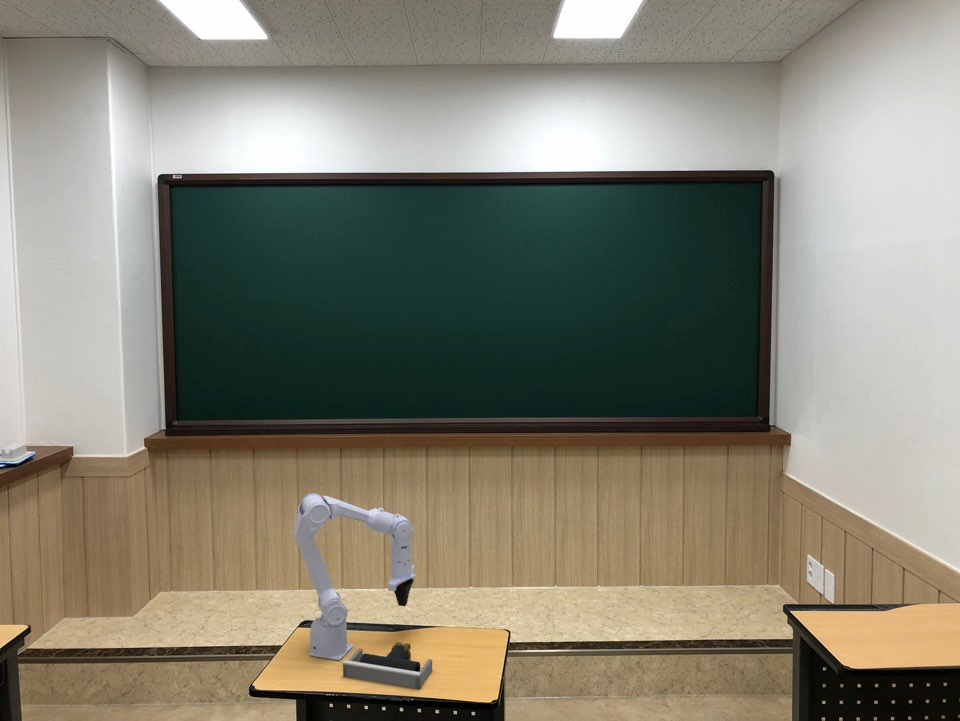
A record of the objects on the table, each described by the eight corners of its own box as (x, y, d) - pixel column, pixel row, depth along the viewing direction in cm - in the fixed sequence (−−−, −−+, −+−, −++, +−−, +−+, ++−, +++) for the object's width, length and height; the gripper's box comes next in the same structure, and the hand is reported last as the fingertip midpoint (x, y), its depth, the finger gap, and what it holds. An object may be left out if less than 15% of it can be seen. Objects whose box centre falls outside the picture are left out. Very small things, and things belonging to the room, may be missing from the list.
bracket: (343, 676, 171) (342, 662, 171) (359, 658, 180) (359, 644, 180) (419, 689, 165) (418, 674, 165) (432, 670, 174) (432, 656, 174)
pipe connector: (378, 636, 182) (429, 644, 177) (378, 655, 182) (429, 663, 178) (358, 659, 171) (412, 668, 167) (359, 678, 172) (413, 688, 167)
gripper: (404, 570, 182) (405, 618, 183) (424, 551, 196) (424, 595, 197) (380, 567, 184) (381, 614, 185) (401, 548, 198) (402, 593, 199)
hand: (402, 605), depth 191 cm, fingers closed
